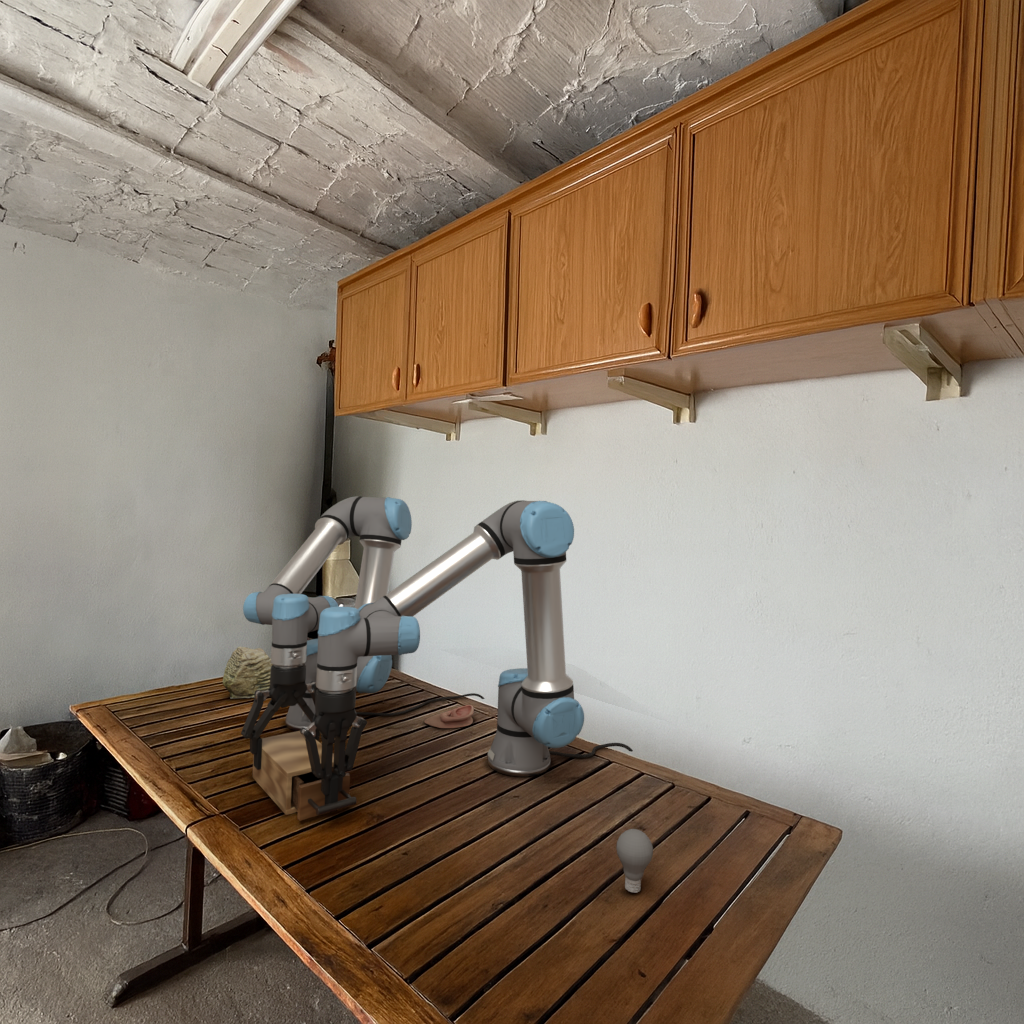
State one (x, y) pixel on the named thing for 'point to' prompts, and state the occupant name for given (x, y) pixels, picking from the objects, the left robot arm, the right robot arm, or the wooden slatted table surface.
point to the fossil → (247, 672)
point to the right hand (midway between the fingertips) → (330, 808)
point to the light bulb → (634, 857)
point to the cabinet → (283, 766)
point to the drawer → (317, 796)
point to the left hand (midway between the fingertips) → (285, 761)
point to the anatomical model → (452, 718)
